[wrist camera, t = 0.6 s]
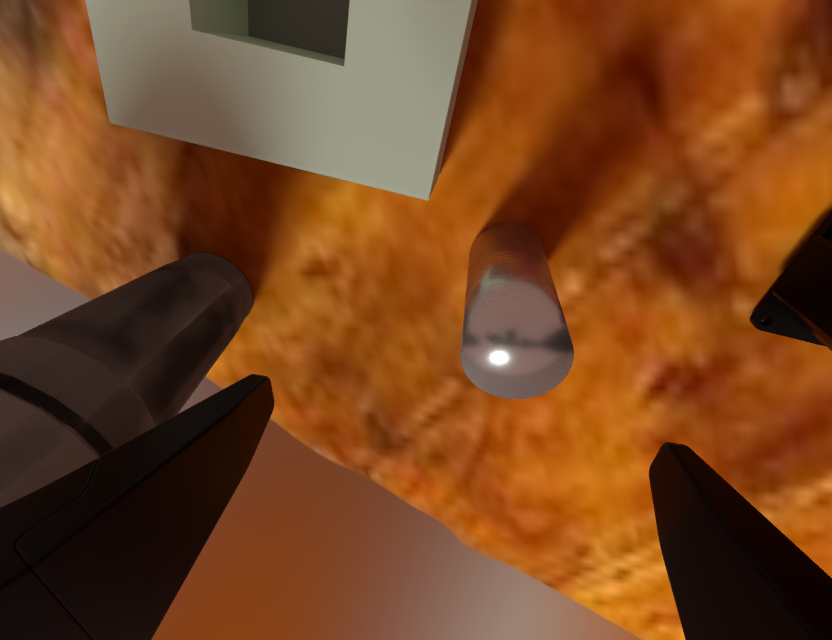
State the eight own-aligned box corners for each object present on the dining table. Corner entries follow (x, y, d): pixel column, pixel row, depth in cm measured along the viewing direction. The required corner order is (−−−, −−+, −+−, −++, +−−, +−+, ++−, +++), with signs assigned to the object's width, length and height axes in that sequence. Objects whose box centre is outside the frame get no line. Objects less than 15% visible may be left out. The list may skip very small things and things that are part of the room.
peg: (554, 232, 19) (592, 326, 12) (528, 296, 21) (548, 409, 14) (480, 213, 19) (477, 298, 12) (461, 280, 21) (449, 384, 14)
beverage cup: (138, 216, 22) (-1095, 762, 5) (272, 239, 21) (-564, 929, 4) (167, 330, 25) (-448, 847, 9) (280, 351, 25) (-137, 938, 8)
